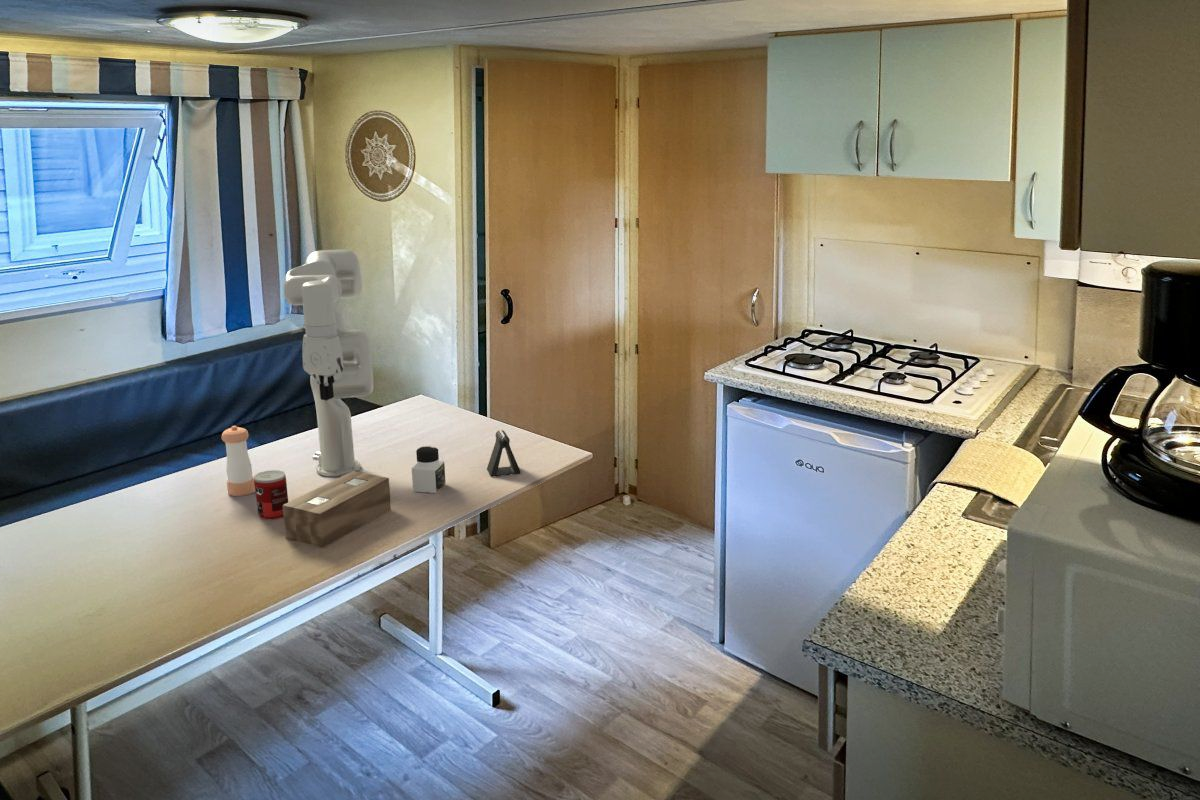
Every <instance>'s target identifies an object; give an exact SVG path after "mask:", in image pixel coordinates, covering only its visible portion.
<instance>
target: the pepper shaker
mask: <svg viewBox="0 0 1200 800" xmlns="http://www.w3.org/2000/svg"><path fill="white" fill-rule="evenodd" d="M248 438H249V432H248V430H247V429H246V428H244V427H239V426H237V425H232V426H231V427H230V428H229V427H228V428H226V429H225V430H224V431H223V432H222V434H221V440H222V442H224V444H225V450H226V452H225V453H226V476H227V480H226V486H227V494H228V495H229V496H234V497H243V496H247V495H249V494H252V493H254V492H255V485H254V475H253V468H252V467H253V466H252V463H251V460H250V459H251V458H250V457H249V456H250V455H249V453H248V445H247V444H248V443H247V440H248Z"/></svg>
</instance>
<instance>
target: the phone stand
mask: <svg viewBox="0 0 1200 800" xmlns="http://www.w3.org/2000/svg"><path fill="white" fill-rule="evenodd" d="M501 432H502V433H501ZM502 434H503V435H504V436H503V435H502ZM510 441H511V440H510V438H509V436H508V435H507V433H506V431H505V430H503V429H501V431H500V430H499V429H498V430H497V431H496V433H495V443H494V446H493V448H492V451H491V455H490V457H489V460H488V464H487V467H486V470H487V472H488V474H489V477H491V478H494V477H493V476H496V477H502V476H501V475H505V476H511V475H510V474H514V475H520V474H522V473H521V472H522V471H521V469H520V467H519V465H518V462H517V460H516V458H515V455H514V453H513V450H512V448H511V445H510ZM503 449H505V453H506V456H507V459H508V461H509V462H508V463H509V466H501V467H499V465H500V463H501V462H500V461H501V457H502V453H503Z"/></svg>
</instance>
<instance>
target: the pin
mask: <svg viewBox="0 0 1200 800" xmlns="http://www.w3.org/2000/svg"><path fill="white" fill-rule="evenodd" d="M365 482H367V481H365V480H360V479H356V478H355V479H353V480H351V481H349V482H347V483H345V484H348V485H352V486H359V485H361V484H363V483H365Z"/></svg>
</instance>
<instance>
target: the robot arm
mask: <svg viewBox="0 0 1200 800" xmlns="http://www.w3.org/2000/svg"><path fill="white" fill-rule="evenodd" d="M362 284H363V282H362V275H361V267H360V262H359V259H358V257H357V255H356V253H355V252H354V251H353V250H351V249H324V250H322V249H321V250H320V249H319V250H316V251H313V252H310V254H309V255H308V256H307V258H306V260H305V264H302V265H300V266H295V267H293V268H292V269H290V270H288V271H287V273H286V274H285V277H284V281H283V295H284V298H285V301H286V302H287V303H288V304H290V305H292V306H302V309H303V319H304V320H303V321H304V324H303V328H304V329H305V334H303V337H302V349H301V350H302V355H301V357H302V369H303V370H304V371H305V372H306V373H307V374H308V375H310V378H309V379H310V380H309V381H310V387H311V391H312V395H313V399H314V402H315V403H314V405H315V410H316V420H317V421H316V422H317V429H318V440H319V441H318V442H319V449H320V451H316V452H315V453H314V455H313V456H312V460H313V461H318V465H317V466H316V473H317V474H319V475H321V476H323V477H331V478H333V477H334V478H335V477H342V476H344V475H346V474H348V473H350V472H352V471H356V472H359V471H360V470H361V462H359V461H358V460H356V459H355V450H354V440H353V437H354V436H353V427H352V414H351V410H350V408H349V406H348V405H347V404H346V403H345V402H344V401H343V400H342V399H346V398H361V397H366V396H367V397H368V396H369V395H371V394H372V392H373V389H374V371H373V362H372V352H371V351H372V350H371V342H370V339H369V336H368V334H367V333H366V331H364V330H363V329H343V317H342V315H341V313H340V311H338V309H337V308H336V307H335V304H336V303H337V302H338V301H339V299H341V300H342V299H354V298H358V297H360V294H361V293H362V288H363V287H362V286H363V285H362ZM345 363H351V364H345Z"/></svg>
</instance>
